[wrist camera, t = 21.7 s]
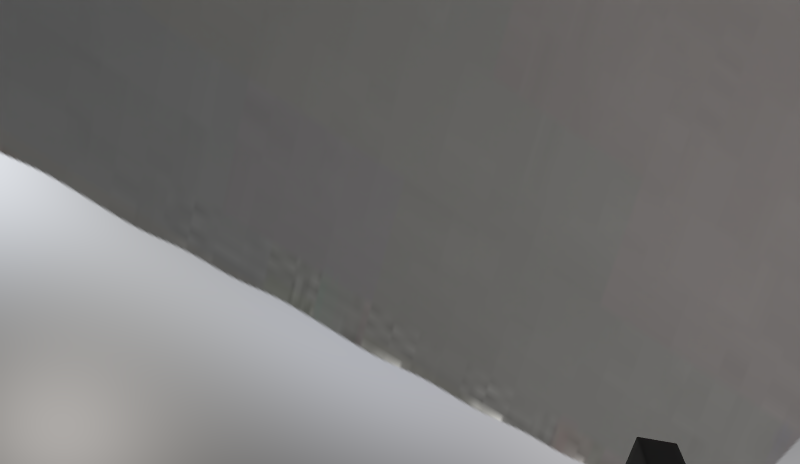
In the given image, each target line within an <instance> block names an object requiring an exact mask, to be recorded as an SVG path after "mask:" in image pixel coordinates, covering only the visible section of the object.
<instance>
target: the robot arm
mask: <svg viewBox="0 0 800 464" xmlns="http://www.w3.org/2000/svg"><path fill="white" fill-rule="evenodd" d="M626 464H685V461H684V459H683V457H682V455H681V452H680V450H679V448H678V445H677V444H676V443H670V442H664V441H658V440H652V439H647V438H641V437H637V438H636V441H635V443H634V445H633V448H632V450H631V452H630V455H629V457H628V460H627V462H626Z"/></svg>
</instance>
